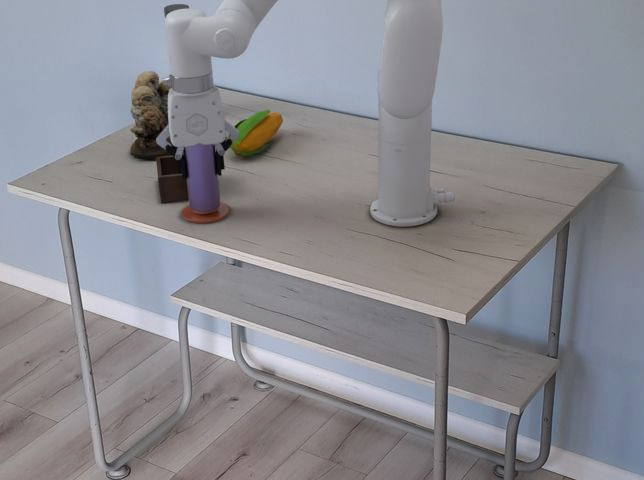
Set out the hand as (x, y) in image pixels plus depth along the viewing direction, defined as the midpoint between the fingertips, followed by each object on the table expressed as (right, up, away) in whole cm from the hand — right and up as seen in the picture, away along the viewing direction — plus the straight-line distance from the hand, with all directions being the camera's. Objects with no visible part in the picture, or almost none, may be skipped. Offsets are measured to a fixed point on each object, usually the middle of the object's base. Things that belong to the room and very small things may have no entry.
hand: (201, 174), depth 193 cm
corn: (+9, +11, +32) cm, 35 cm away
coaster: (0, -7, +4) cm, 8 cm away
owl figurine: (-12, +12, +34) cm, 38 cm away
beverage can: (0, -6, +4) cm, 7 cm away
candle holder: (-8, +23, +50) cm, 56 cm away
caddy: (-5, -1, +14) cm, 15 cm away
